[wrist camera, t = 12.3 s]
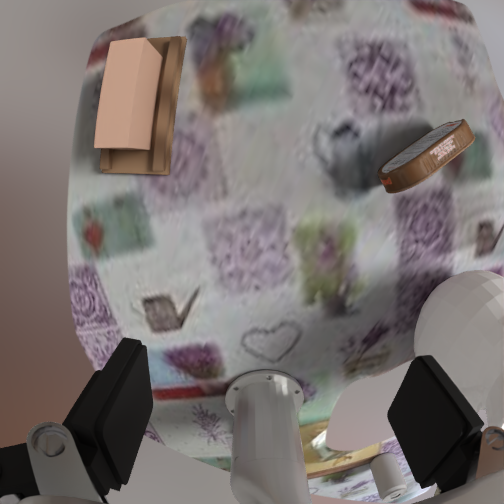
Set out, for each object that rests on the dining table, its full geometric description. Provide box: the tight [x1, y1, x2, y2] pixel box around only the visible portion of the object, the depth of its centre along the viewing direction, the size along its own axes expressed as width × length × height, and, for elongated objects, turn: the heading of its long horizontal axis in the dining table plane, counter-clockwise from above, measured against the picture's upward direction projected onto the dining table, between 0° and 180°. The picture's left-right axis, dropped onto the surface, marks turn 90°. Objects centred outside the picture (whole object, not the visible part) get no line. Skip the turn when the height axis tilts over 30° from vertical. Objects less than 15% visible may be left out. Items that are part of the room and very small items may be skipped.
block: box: [94, 38, 163, 150], centre depth 27 cm, size 4×12×7 cm, turn 174°
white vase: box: [414, 270, 504, 430], centre depth 28 cm, size 19×18×25 cm
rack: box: [100, 36, 187, 175], centre depth 31 cm, size 18×9×2 cm, turn 174°
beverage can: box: [370, 453, 407, 502], centre depth 46 cm, size 6×6×12 cm
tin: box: [378, 119, 475, 193], centre depth 30 cm, size 15×3×8 cm, turn 126°
